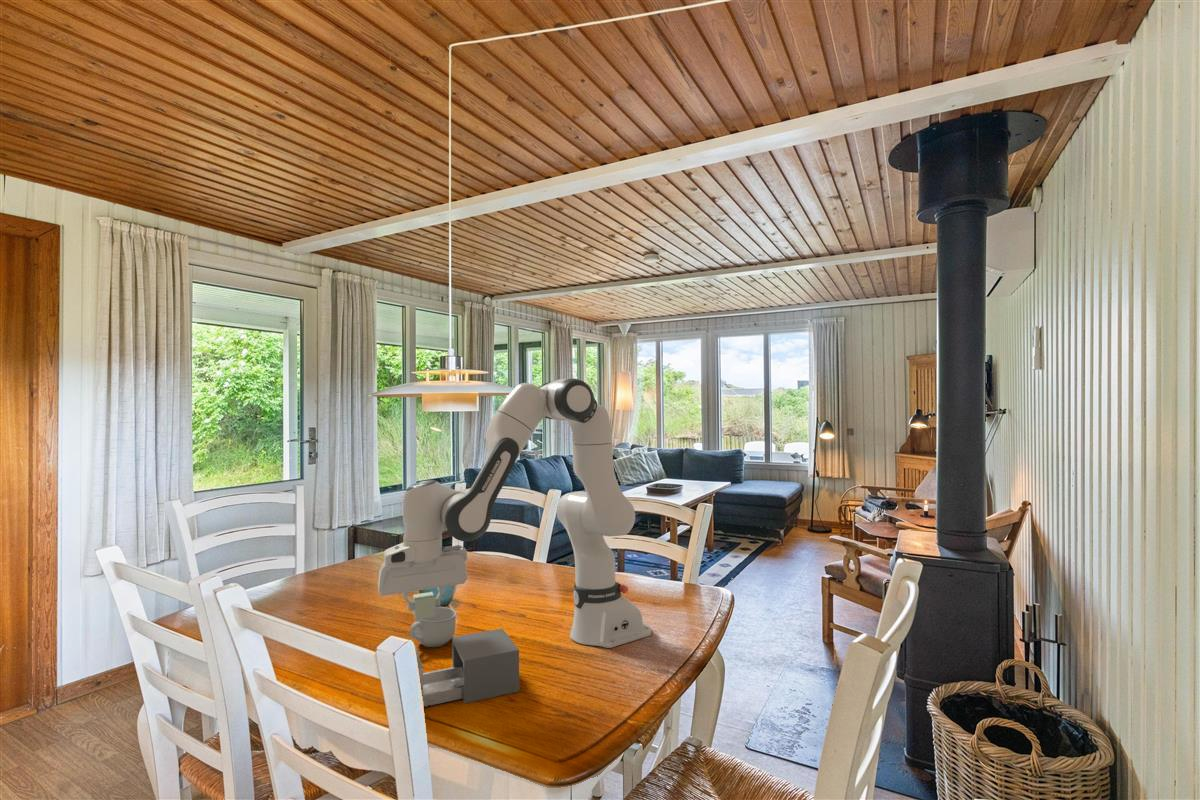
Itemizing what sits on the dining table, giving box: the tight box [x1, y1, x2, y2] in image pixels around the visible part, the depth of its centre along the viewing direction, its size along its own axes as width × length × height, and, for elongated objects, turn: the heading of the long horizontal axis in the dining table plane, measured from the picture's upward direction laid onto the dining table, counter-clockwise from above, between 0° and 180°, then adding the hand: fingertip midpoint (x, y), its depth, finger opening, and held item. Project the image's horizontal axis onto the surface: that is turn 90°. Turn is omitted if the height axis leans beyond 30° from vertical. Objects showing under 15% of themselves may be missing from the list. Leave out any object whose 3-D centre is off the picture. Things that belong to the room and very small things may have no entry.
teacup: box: [409, 606, 457, 648], centre depth 150 cm, size 14×11×8 cm
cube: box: [412, 591, 436, 621], centre depth 134 cm, size 4×4×4 cm
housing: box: [451, 628, 520, 704], centre depth 128 cm, size 12×14×9 cm
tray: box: [414, 645, 463, 708], centre depth 124 cm, size 12×12×8 cm
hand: (424, 607), depth 134 cm, fingers closed on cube, 4 cm apart
